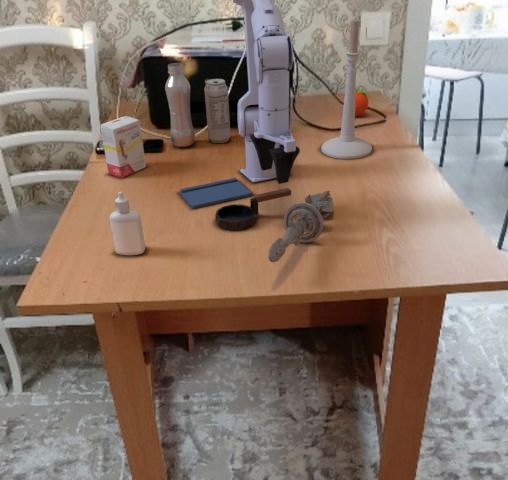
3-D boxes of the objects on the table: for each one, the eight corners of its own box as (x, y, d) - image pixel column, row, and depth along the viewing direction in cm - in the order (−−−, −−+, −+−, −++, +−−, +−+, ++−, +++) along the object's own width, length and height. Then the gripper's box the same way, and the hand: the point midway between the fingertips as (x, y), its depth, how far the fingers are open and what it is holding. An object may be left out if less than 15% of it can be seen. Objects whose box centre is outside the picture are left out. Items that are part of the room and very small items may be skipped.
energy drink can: (229, 135, 163) (226, 77, 154) (231, 142, 159) (228, 83, 149) (207, 137, 163) (203, 79, 153) (209, 144, 158) (204, 85, 149)
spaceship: (241, 241, 99) (283, 231, 95) (306, 182, 126) (340, 172, 122) (257, 284, 102) (298, 275, 98) (317, 217, 129) (351, 208, 125)
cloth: (236, 181, 138) (235, 177, 138) (251, 195, 132) (251, 191, 131) (179, 193, 134) (179, 188, 134) (192, 208, 128) (192, 204, 127)
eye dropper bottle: (134, 260, 111) (123, 200, 104) (112, 252, 114) (100, 193, 106) (149, 250, 114) (139, 191, 107) (127, 243, 117) (116, 185, 109)
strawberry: (373, 113, 174) (375, 87, 170) (368, 120, 169) (370, 94, 165) (346, 111, 177) (348, 85, 172) (340, 118, 172) (342, 92, 167)
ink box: (121, 178, 142) (112, 128, 134) (108, 174, 144) (98, 125, 137) (147, 167, 147) (140, 118, 140) (133, 163, 150) (125, 115, 142)
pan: (225, 233, 118) (223, 212, 115) (210, 217, 124) (209, 197, 121) (298, 216, 123) (298, 196, 120) (281, 202, 129) (281, 182, 126)
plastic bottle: (167, 148, 157) (156, 67, 144) (178, 139, 162) (170, 60, 149) (188, 151, 155) (180, 68, 142) (200, 142, 160) (192, 62, 147)
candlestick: (331, 138, 159) (338, 11, 140) (378, 144, 154) (391, 14, 135) (313, 154, 150) (318, 21, 131) (362, 161, 145) (373, 24, 127)
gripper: (239, 99, 116) (242, 167, 124) (271, 120, 105) (272, 192, 114) (271, 94, 118) (272, 161, 126) (306, 114, 107) (304, 185, 116)
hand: (274, 175), depth 120 cm, fingers open, 7 cm apart
